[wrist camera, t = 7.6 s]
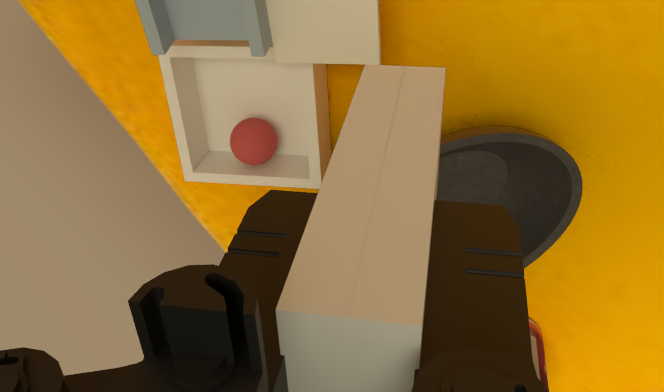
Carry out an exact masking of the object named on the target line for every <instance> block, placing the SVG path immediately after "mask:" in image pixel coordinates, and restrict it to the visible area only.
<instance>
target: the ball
mask: <svg viewBox="0 0 664 392" xmlns="http://www.w3.org/2000/svg"><path fill="white" fill-rule="evenodd" d="M277 143H278V140H277V135H276V132H275V130H274V128H273V127H272V126H271V125H270V124H269V123H268V122H266V121H265V120H263V119H259V118H247V119H244V120H242V121H241V122H239V123H238V124H237V125H236V126H235V127H234V129H233V130H232V133H231V136H230V147H231V150H232V152H233V154H234V155H235V157H236V158H237V159H238V160H240V161H241V162H243V163H245V164H248V165H260V164H263V163H265V162H267V161H268V160H269V159H271V158H272V156H273V155H274V153H275V151H276V149H277Z"/></svg>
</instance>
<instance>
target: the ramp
mask: <svg viewBox="0 0 664 392" xmlns="http://www.w3.org/2000/svg"><path fill="white" fill-rule="evenodd" d="M135 3H136V6H137V9H138V12H139V15H140V18H141V21H142V24H143V27H144V30H145V34H146V37H147V40H148V43H149V46H150V49H151V52H152V55H165V54H166V53H167V51H168V50H169V48H170V47H171V45H172V44H173V42H174V41H175V40H239V41H249V46H250V51H251V56H252V57H265V55H266V53H267V51H268V49H269V47H270V45H271V43H272V42H273V48H274V54H275V60H276V63H314V64H367V65H380V61H381V35H380V8H379V0H135Z"/></svg>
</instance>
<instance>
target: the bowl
mask: <svg viewBox="0 0 664 392" xmlns="http://www.w3.org/2000/svg"><path fill="white" fill-rule="evenodd" d="M581 197H582V178H581V173H580V170H579V168H578V166H577V164H576V162H575V161H574V159H573V158H572V157H571V156H570V155H569V154H568V153H567V152H566V151H565V150H564V149H562V148H561V147H560V146H559V145H557V144H556V143H554V142H553V141H551V140H549V139H548V138H546V137H544V136H542V135H539V134H537V133H535V132H532V131H528V130H525V129H521V128H515V127H506V126H486V127H477V128H470V129H465V130H461V131H457V132H453V133H450V134H447V135H444V136H441V140H440V154H439V168H438V181H437V194H436V200H440V201H453V202H466V203H479V204H492V205H503V206H504V208H505V209H506V210H507V212H508V213H509V214H510V216H511V217H512V218H513V220H514V221H515V222H516V224H517V225H518V226H519V228H520V237H521V247H522V257H523V267H524V268H525V267H527V266H528V265H530V264H531V263H532V262H534V261H535V260H536V259H537V258H538V257H540V256H541V255H542V254H543V253H544V252H545V251H546V250H548V249H549V248H550V247H551V246H552V245H553V244H554V243H555V242H556V241H557V240H558V238H559V237H560V236H561V235H562V234H563V232H564V231H565V230H566V229H567V227H568V226H569V224H570V223H571V221H572V219H573V218H574V216H575V214H576V212H577V209H578V207H579V204H580V200H581Z"/></svg>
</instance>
